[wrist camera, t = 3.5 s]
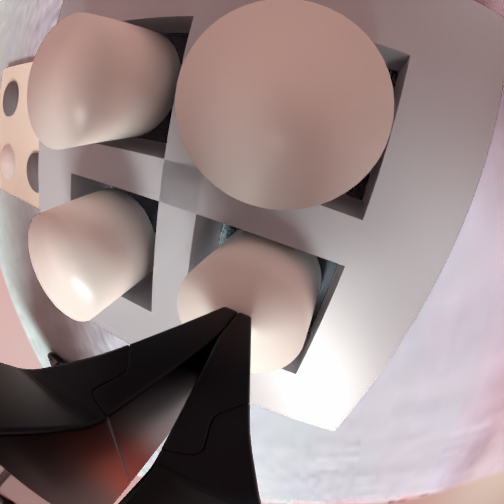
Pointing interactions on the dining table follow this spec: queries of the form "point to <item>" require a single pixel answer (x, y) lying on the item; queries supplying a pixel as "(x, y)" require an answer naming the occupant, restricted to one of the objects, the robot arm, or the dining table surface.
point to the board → (327, 214)
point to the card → (18, 137)
